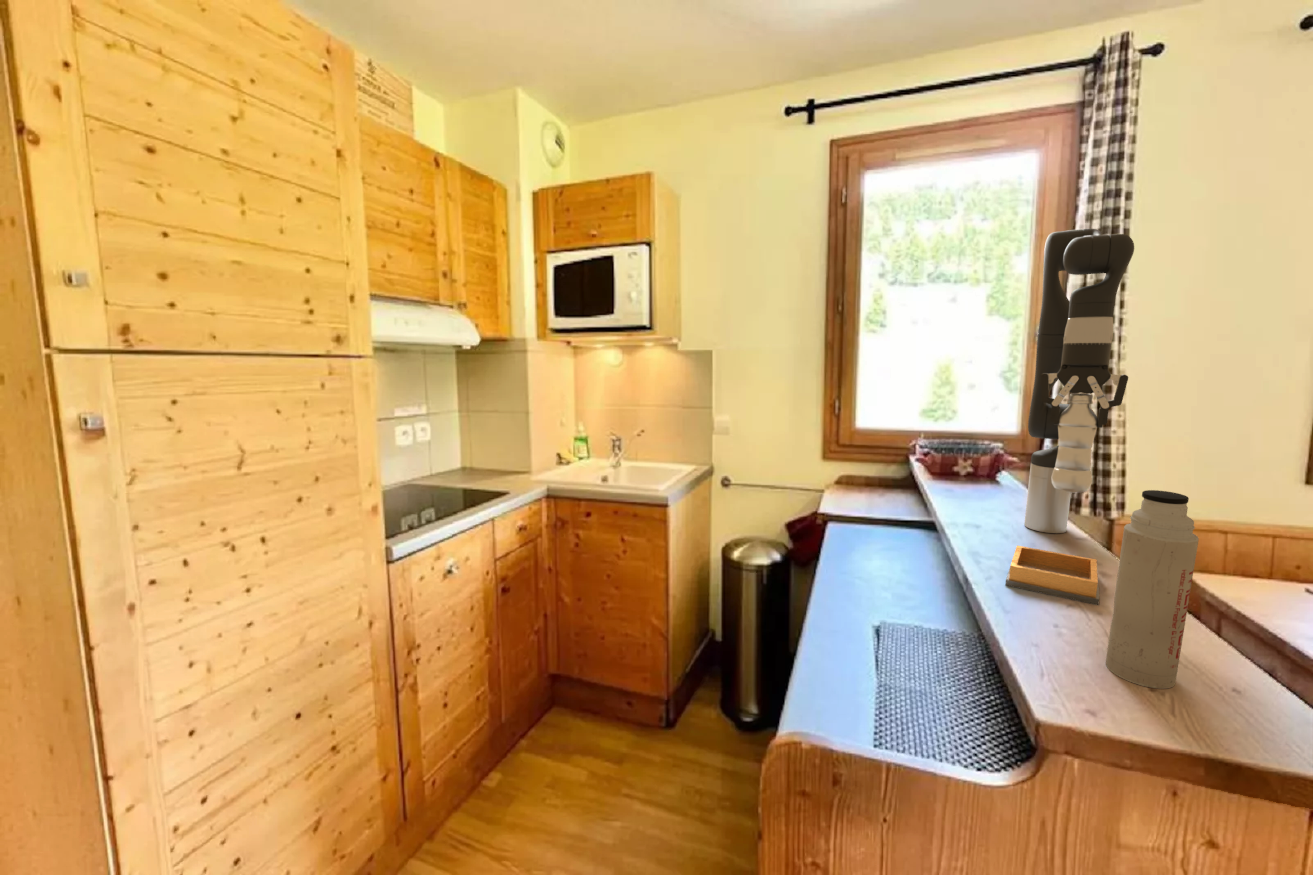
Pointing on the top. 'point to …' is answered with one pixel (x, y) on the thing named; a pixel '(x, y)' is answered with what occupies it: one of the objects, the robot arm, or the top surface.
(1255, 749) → the top surface
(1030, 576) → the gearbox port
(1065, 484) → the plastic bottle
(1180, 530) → the thermos bottle
